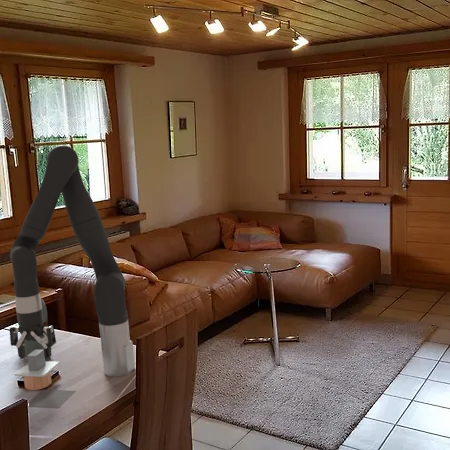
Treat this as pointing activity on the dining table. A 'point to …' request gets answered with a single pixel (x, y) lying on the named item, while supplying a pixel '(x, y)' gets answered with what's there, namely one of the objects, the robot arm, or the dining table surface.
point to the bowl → (37, 382)
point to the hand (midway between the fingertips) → (35, 358)
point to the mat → (50, 398)
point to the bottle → (35, 345)
